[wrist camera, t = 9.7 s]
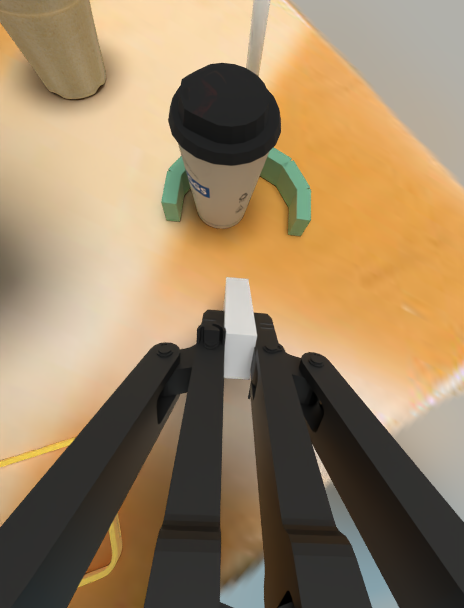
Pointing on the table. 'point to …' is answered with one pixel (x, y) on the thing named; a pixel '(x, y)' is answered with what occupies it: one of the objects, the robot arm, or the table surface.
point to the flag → (257, 34)
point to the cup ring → (274, 171)
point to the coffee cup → (223, 137)
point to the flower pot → (57, 43)
